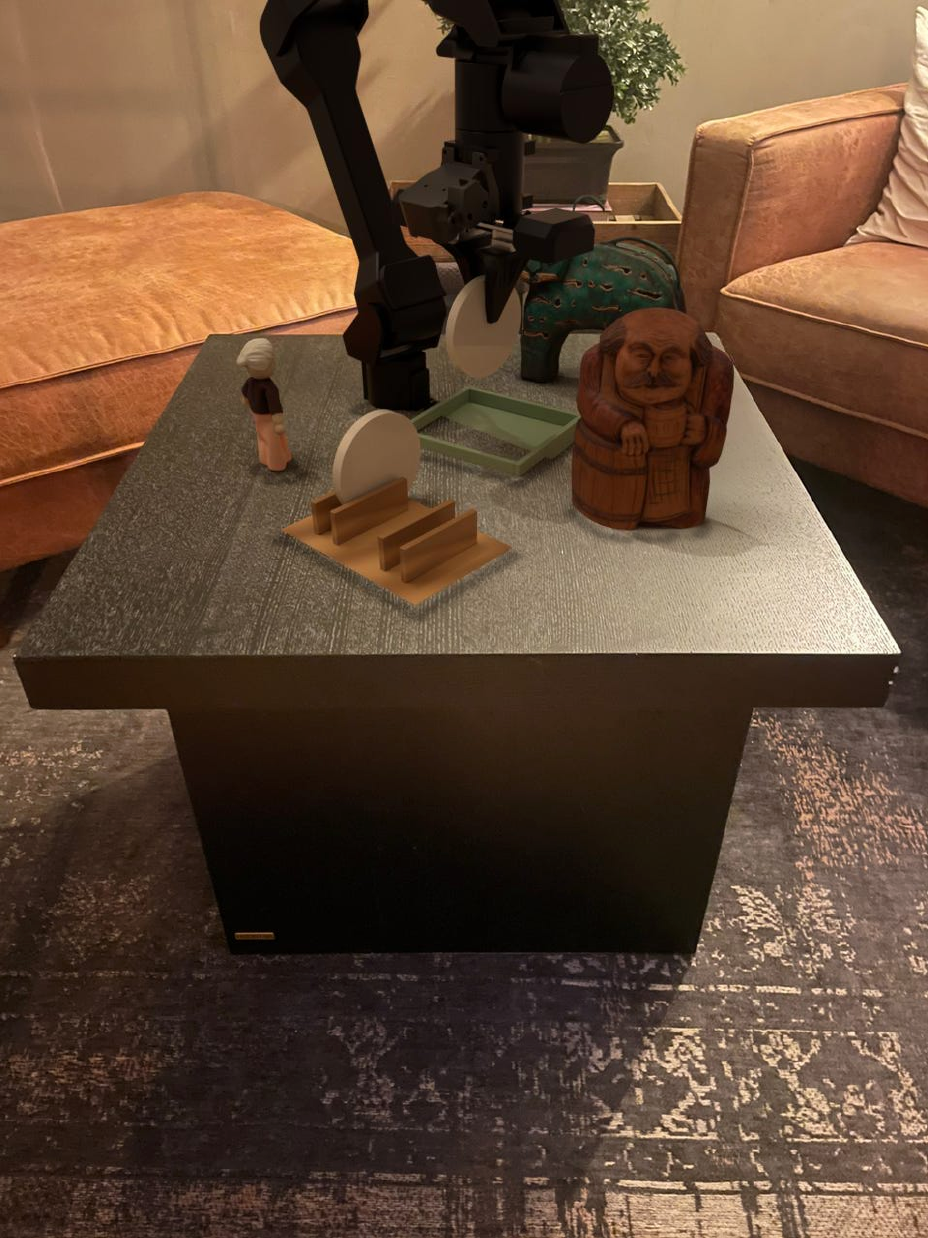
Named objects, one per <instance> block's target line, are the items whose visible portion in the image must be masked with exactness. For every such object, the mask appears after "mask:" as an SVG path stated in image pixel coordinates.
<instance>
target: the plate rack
mask: <svg viewBox="0 0 928 1238" xmlns="http://www.w3.org/2000/svg"><path fill="white" fill-rule="evenodd" d="M310 505H311V508H310V509H311V515H308V516H306V517H304V518H302V519H300V520H298V521H296V522H294V523H292V524H290V525H288V526H285V527H284V528H281V529H280V530H281V531H282V532H284V533H286V534H287V535H289V536H291V537H292V538H294V539H296V540H298V541H300V542H302V543H303V544H305V545H307V546H309V547H311V548H312V549H315V550H316V551H318V552H319V553H322V554H323V555H325V556H326V557H328V558H330V559H332V560H333V561H336V562H337V563H339V564H341V565H343V566H345V567H347V568H348V569H350V570H352V571H353V572H355V573H357V574H359V575H361V576H362V577H364V578H366V579H367V580H369V581H371V582H373V583H375V584H377V585H379V586H380V587H382V588H384V590H385V589H386V590H387V591H389V592H391V593H392V594H394V595H396V596H397V597H399V598H401V599H403V600H405V601H406V602H409V603H410V604H412V605H413V606H417V605H419V604H421V603H422V602H424V601H426V600H427V599H429V598H430V597H432V596H434V595H436V594H438V593H439V592H440V591H443V590H445V588H447V587H449V586H451V585H452V584H455V583H456V582H457V581H459V580H461V579H463V578H464V577H466V576H468V575H469V574H471V573H472V572H474V571H476V570H478V569H480V568H481V567H482V566H484V565H486V564H487V563H489V562H491V561H493V560H495V559H497V557H500V556H501V555H503V554H504V553H506V552H508V551H510V550H511V549H512V548H513V546H511V545H508V544H506V543H504V542H503V541H500V540H498V539H496V538H494V537H492V536H490V535H488V534H486V533H483V532H481V531H479V530H478V511H477V510H476V509H474V508H471V509H469V510H466V511H465V512H463V513H461V514H459V515H457V516H456V500H454V499H453V498H448V499H446V500H445V501H443V502H441V503H439V504H437V505H435V506H434V507H432V508H430V507H429V506H426V505H424V504H422V503H420V502H417V501H416V500H414V499H411V498H409V491H408V487H407V479H406V478H404V477H401V478H399V479H397V480H395V481H392V482H390V483H388V484H386V485H384V486H382V487H380V488H378V489H376V490H373V491H371V492H369V493H367V494H365V495H363V496H361V497H359V498H357V499H355V500H352V501H350V502H348V503H346V504H344V505H342V504H341V503H340V501H339V500H338V498H337V496H336V493H335V490H334V489H333V490H332V491H329V492H327V493H325V494H323V495H321V496H318V497H317V498H315V499H313V500H311V501H310Z"/></svg>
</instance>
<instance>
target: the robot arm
mask: <svg viewBox="0 0 928 1238" xmlns="http://www.w3.org/2000/svg"><path fill="white" fill-rule="evenodd" d="M420 1H421V2H423V3H425V4H427V5H428V7H429V9H430V10H431V12H432V13H433V14H434V15H436V16H438V17H440V18H441V19H443V20H446V21H448V22H450V23H452V27H451V28H450V31H449V32H448V33H447V35H446V36H445V37H444V38H442V40H441V41H440V42H439V44H437V46H436V47H435V54H436V56H437V57H439V58H446V59H454V139H450V140H445V141H444V140H443V147H442V149H441V161H440V165H439V167H437V168H436V169H434V170H431V171H429V172H427V173H426V174H425V175H423V176H422V177H420V178H418V180H416V181H415V182H414V183H413V184H411V185H409V186H405V187H400V188H398V189H397V191H396V193H395V194H394V196H393V198H392V195H391V192H390V190H389V187H388V186H389V185H388V184H387V180H386V177H385V175H384V171H383V169H382V166H381V163H380V160H379V156H378V154H377V150H376V147H375V144H374V141H373V138H372V134H371V132H370V129H369V125H368V124H367V120H366V116H365V114H364V111H363V108H362V105H361V101H360V99H359V96H358V91H357V85H358V84H357V83H358V79H359V78H358V77H359V73H360V67H361V62H362V50H361V47H360V42H359V35H360V34H361V32H362V30H363V28H364V26H365V24H366V22H367V21H368V20H369V16H370V7H369V6H370V5H369V0H267V1H266V3H265V5H264V7H263V10H262V13H261V15H260V19H259V35H260V40H261V41H260V42H261V44H262V46H263V48H264V50H265V52H266V55H267V57H268V59H269V61H270V63H271V65H272V67H273V70H274V73H275V74H276V77H277V79H278V80H279V83H280V84H281V85H282V86H283V87H284V88H285V89H286V91H288V92H289V93H290V94H291V95H292V96H293V97H294V98H295V99H296V100H297V101H298V102H299V103H300V104H301V105H302V106H303V107H304V108H305V109H306V111H307V114H308V116H309V119H310V122H311V125H312V128H313V131H314V134H315V137H316V140H317V144H318V146H319V149H320V151H321V155H322V158H323V161H324V163H325V166H326V169H327V172H328V175H329V177H330V181H331V184H332V186H333V187H332V188H333V190H334V193H335V195H336V198H337V201H338V205H339V207H340V210H341V213H342V216H343V219H344V222H345V225H346V227H347V231H348V233H349V236H350V239H351V242H352V246H353V248H354V251H355V253H356V257H357V261H358V267H357V272H356V278H355V284H354V290H353V297H354V302H355V305H356V308H357V309H356V310H357V314H356V315H355V317H353V319H352V321H351V322H350V324H349V325H348V326H347V328H346V329H345V330H344V332H343V333H342V340H343V344H344V346H345V350H346V354H347V356H348V357H351V358H353V359H355V360H357V361H359V362H360V365H361V376H362V377H361V380H362V393H363V394H362V395H363V399H364V400H366V401H368V403H369V404H370V406H372V407H373V408H375V409H377V410H382V409H386V410H391V411H394V412H395V411H406V412H419V411H420V410H424V411H426V410H428V409H429V408H431V407H433V406H434V405H436V404H437V399H436V398H434V397H431V380H430V379H431V378H430V377H431V376H430V368H428V367H427V352H426V351H427V350H430V349H436V348H438V347H439V343H440V339H441V335H442V331H443V327H444V323H445V319H446V318H447V315H448V313H447V305H446V300H445V297H446V296H447V291H446V289H445V288H444V287H443V285H442V282H441V280H440V276H439V272H438V268H437V264H436V261H435V260H434V258H433V257H432V255H431V254H426V255H421V256H419V255H418V254H417V252H415V251H414V250H413V249H412V248H411V247H410V246H409V245H408V243H407V242H406V238H405V235H404V232H403V230H402V229H403V228H402V227H404V228H407V230H408V233H409V236H410V237H412V238H416V239H417V238H419V237H420V238H424V239H427V240H431V242H433V243H435V245H438V246H440V247H442V248H443V249H444V250H445V251H446V252H447V253H448V254H450V256H452V257H453V259H454V261H455V262H456V265H457V268H458V271H459V272H460V275H461V278H462V282H463V285H464V287H465V286H466V285H467V284H468V283H469V282H470V281H471V280H473V279H474V278H476V277H478V276H481V275H485V308H486V318H487V323H489V324H493V323H496V322H497V321H498V320H499V318H500V316H501V314H502V312H503V310H504V308H505V306H506V303H507V301H508V299H509V297H510V295H511V293H512V291H513V289H514V287H515V288H516V285H517V283H518V281H519V280H520V279H519V277H520V275H521V273H522V272H523V270H524V268H525V267H526V265H527V264H528V262H529V260H533V261H537V262H541V263H556V262H559V261H562V260H566V259H569V258H572V257H575V256H578V255H581V254H585V253H588V252H591V251H593V250H594V243H595V237H596V227H595V223H594V221H593V220H592V218H591V216H590V215H589V214H587V213H584V212H578V211H575V212H574V211H573V210H571V209H570V210H569V209H564V208H560V207H552V208H548V209H545V210H540V211H538V212H537V211H536V212H534V213H533V212H532V213H533V214H529V215H524V213H523V211H524V210H525V211H526V210H529V209H532V208H533V207H534V194H532V193H526V192H524V187H525V185H524V184H525V163H526V162H525V158H526V156H531V155H536V143H537V142H536V139H531V138H526V135H532V136H536V137H537V136H538V137H542V138H549V139H554V140H560V141H565V142H569V143H576V144H581V145H585V144H588V143H590V142H593V141H594V140H595V139H596V138H597V137H598V136H600V134H602V132H603V130H604V129H605V127H606V126H607V124H608V121H609V119H610V117H611V113H612V110H613V106H614V101H615V91H616V89H615V85H613V78H612V74H611V70H610V66H609V65H608V63H607V61H606V59H604V58H603V57H602V55H600V54H599V47H600V46H599V45H600V36H599V34H598V33H590V32H585V33H571V30H570V27H569V25H568V22H567V20H566V16H565V14H564V12H563V9H562V7H561V4H560V2H559V0H420ZM499 221H500V222H499Z"/></svg>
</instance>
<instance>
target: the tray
mask: <svg viewBox="0 0 928 1238" xmlns="http://www.w3.org/2000/svg"><path fill="white" fill-rule="evenodd" d="M440 417H442V418H445V419H448V420H450V421H453V422H456V423H457V424H461V425H463V426H466V427H468V428H471V429H473V430H476V431H478V432H481V433H484V434H486V435H489V436H491V437H494V438H497V439H499V440H500V441H504V442H506V443H509V444H512V445H515V446H517V447H520V448H522V449H525V450H527V451H529V452H528V453H527V454H525V455H524V456H523V457H522V458H520V459H518V461H517V460H513V459H510V458H505V457H503V456H498V455H496V454H492V453H488V452H486V451H482V450H478V449H474V448H471V447H468V446H464V445H461V444H457V443H454V442H450V441H446V440H443V439H440V438H436V437H433V436H429V435H425V434H421V433H418V431H419V430H422V429H423V428H424V427H426V426H427V425H429V424H431V423H432V422H434V421H435V420H438V419H439V418H440ZM580 417H581V416H580V413H579V412H575V411H570V410H567V409H562V408H559V407H555V406H551V405H547V404H542V403H539V402H534V401H531V400H527V399H522V398H519V397H514V396H510V395H506V394H503V393H499V392H493V391H490V390H486V389H482V388H479V387H475V386H471V385H466V386H464V387H462V388H461V389H459V390H458V391H456V392H454V393H453V394H451V395H449V396H447V397H446V398H444V399H442V400H441V401H440V402H438V403H436V404H435V405H433V406H431V407H430V408H428V409H426V410H424V411H423V412H420V414H418V415H416V416H414V417H413V418H411V419H409V420H410V421H411V422H412V423H413V425H414V426H415V428H416V430H417V433H418V435H419V439H420V446H421V449H423V450H426V451H429V452H433V453H437V454H440V455H443V456H446V457H450V458H454V459H457V460H461V461H464V462H466V463H467V462H468V463H471V464H474V465H478V466H481V467H485V468H488V469H490V470H491V469H492V470H495V471H498V472H501V473H505V474H507V475H512V476H515V477H517V478H520V477H521V476H522V475H524V474H525V473H527V472H528V471H529V470H530V469H532V468H533V467H534V466H535V465H536V464H538V463H539V462H540V461H542V460H543V459H545V458H547V459H549V460H553V459H555V458H556V457H558V455H560V454H561V453H562V452H564V451H565V450H567V448H569V447H570V446H571V445H572V444H573V443H574V434H575V428H576V424H577V421H578V419H580Z"/></svg>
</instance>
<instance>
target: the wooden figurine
mask: <svg viewBox="0 0 928 1238" xmlns="http://www.w3.org/2000/svg"><path fill="white" fill-rule="evenodd" d="M598 341H599V343H595V344H594V345H592V346H591V347H590V348H588V349H587V350H586V351H584V353H583V355H582V356H581V360H580V367H579V378H578V379H579V380H578V390H577V394H576V400H575V402H576V408H577V411H578V413H579V414H580V416H581V417H580V419H578V421H577V424H576V428H575V434H574V443H572V444H573V446H572V454H571V455H572V457H571V501H572V505H573V507H574V508H575V509H576V510H577V511H578V512H579V513H580V514H582V515H583V517H585V518H587V519H588V520H589V521H592V522H594V523H596V524H598V525H600V526H603V527H606V528H609V529H610V528H611V529H613V530H619V531H633V530H635V529H636V528H647V529H648V528H649V529H660V528H669V527H670V528H671V527H672V528H675V529H683V530H685V529H692V528H696V527H698V526H700V525H702V524H703V523H704V522H705V519H706V515H707V509H708V508H707V507H708V502H709V501H708V500H709V493H710V485H711V473H710V472H711V471H710V469H711V468H713V467H715V466H716V465H717V464H718V463H719V461H720V460H721V457H722V454H723V451H724V448H725V442H726V438H727V433H728V428H727V427H728V422H729V418H730V413H731V405H732V399H733V394H734V384H735V367H734V363H733V361H732V359H731V358H730V356H729V355H728V353H726V352H725V351H723V350H722V349H720V348H718V347H717V346H716V345H713V344H712V342H711V340H710V339H709V337H708V335H707V333H706V332H705V330H704V329H703V327H702V326H701V325H700V324H699V323H698V322H697V321H696V320H695V319H694V318H693V317H691V316H690V315H688V314H687V315H686V314H684V313H682V312H680V311H677V310H674V309H667V308H658V307H657V308H644V309H638V310H635V311H633V312H630V313H628V314H626V315H624V316H623V317H621V318H618V319H617V320H616V321H614V322H613V323H612V324H611V325H610V326H609V327H608V328H606V329H605V330H604V331H603V330H602V332H601V334H600V335H599V340H598Z"/></svg>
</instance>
